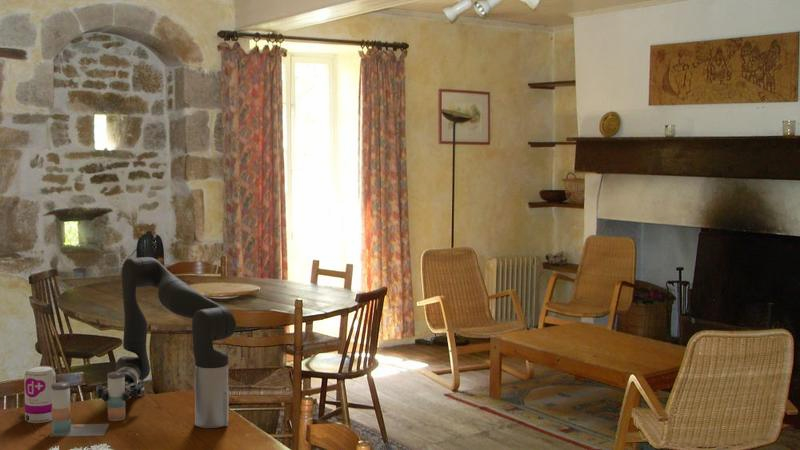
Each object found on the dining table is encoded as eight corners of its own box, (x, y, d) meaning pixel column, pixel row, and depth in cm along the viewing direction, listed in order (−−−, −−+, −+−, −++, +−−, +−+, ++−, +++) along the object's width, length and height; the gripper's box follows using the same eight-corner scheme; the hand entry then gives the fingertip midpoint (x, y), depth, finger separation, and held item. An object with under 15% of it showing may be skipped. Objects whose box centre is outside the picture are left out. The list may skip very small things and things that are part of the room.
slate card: (109, 425, 257) (109, 423, 257) (103, 437, 247) (103, 435, 247) (57, 426, 255) (57, 424, 255) (49, 438, 245) (49, 436, 245)
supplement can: (45, 426, 255) (44, 373, 254) (18, 423, 257) (18, 371, 255) (61, 417, 263) (61, 366, 262) (35, 415, 265) (35, 364, 263)
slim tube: (126, 416, 264) (126, 371, 263) (124, 421, 260) (123, 375, 258) (109, 416, 264) (108, 371, 262) (106, 421, 259) (106, 375, 258)
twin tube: (72, 429, 251) (72, 382, 250) (68, 435, 246) (68, 386, 245) (54, 429, 250) (53, 382, 249) (50, 435, 245) (49, 387, 244)
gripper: (99, 369, 274) (88, 385, 257) (148, 369, 276) (140, 384, 259) (99, 394, 274) (88, 411, 258) (149, 393, 276) (141, 410, 260)
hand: (115, 397), depth 258 cm, fingers closed on slim tube, 4 cm apart
